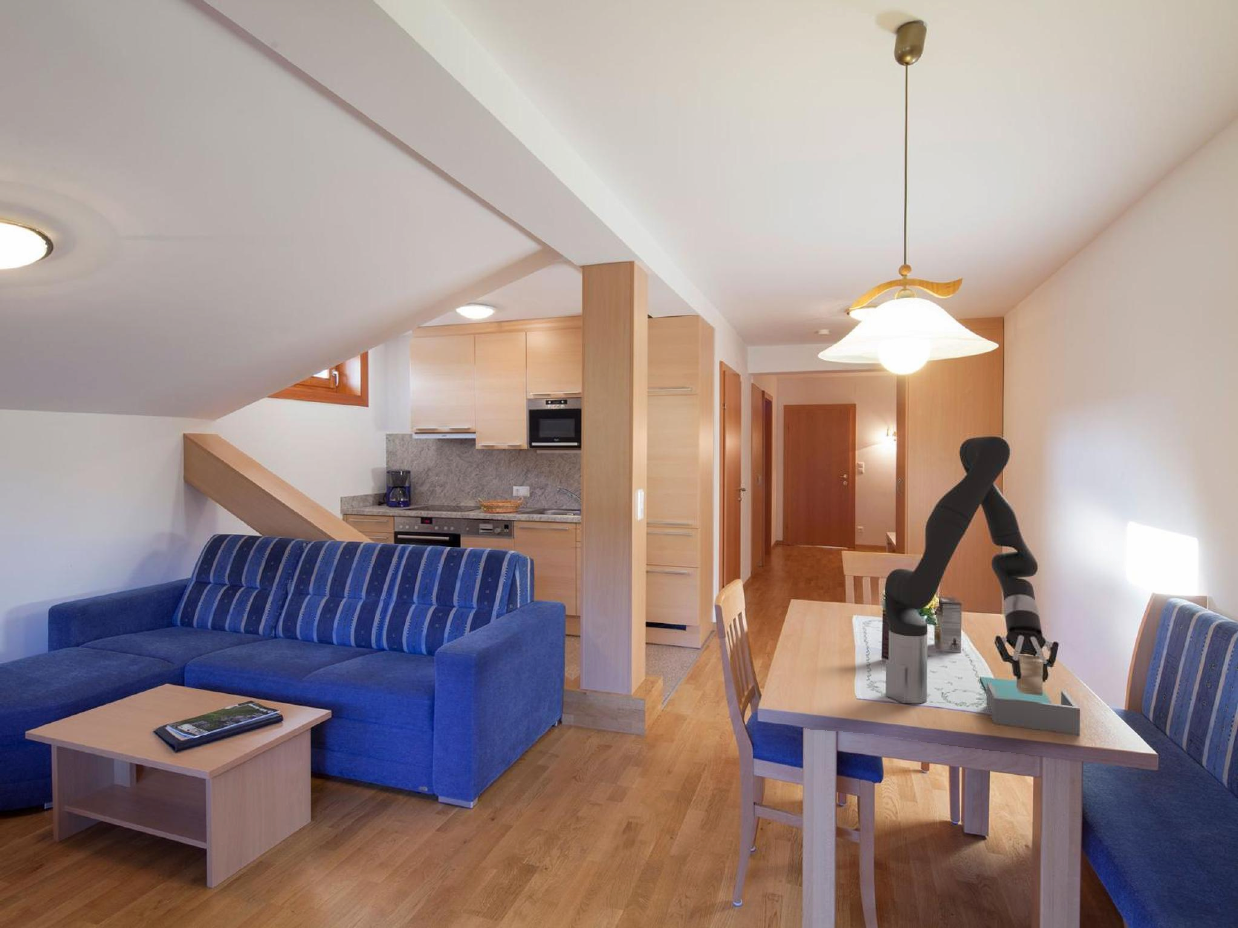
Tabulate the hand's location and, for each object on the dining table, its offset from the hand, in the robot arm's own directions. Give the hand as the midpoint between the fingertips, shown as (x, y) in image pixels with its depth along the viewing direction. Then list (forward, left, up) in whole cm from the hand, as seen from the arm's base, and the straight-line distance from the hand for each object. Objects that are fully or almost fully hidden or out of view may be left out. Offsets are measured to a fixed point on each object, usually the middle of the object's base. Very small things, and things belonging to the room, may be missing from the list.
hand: (1031, 678), depth 156 cm
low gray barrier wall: (+1, +1, -10) cm, 10 cm away
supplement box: (+7, +47, -11) cm, 49 cm away
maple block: (+1, +1, -4) cm, 4 cm away
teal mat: (+15, +15, -10) cm, 23 cm away
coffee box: (+33, +51, -11) cm, 62 cm away
